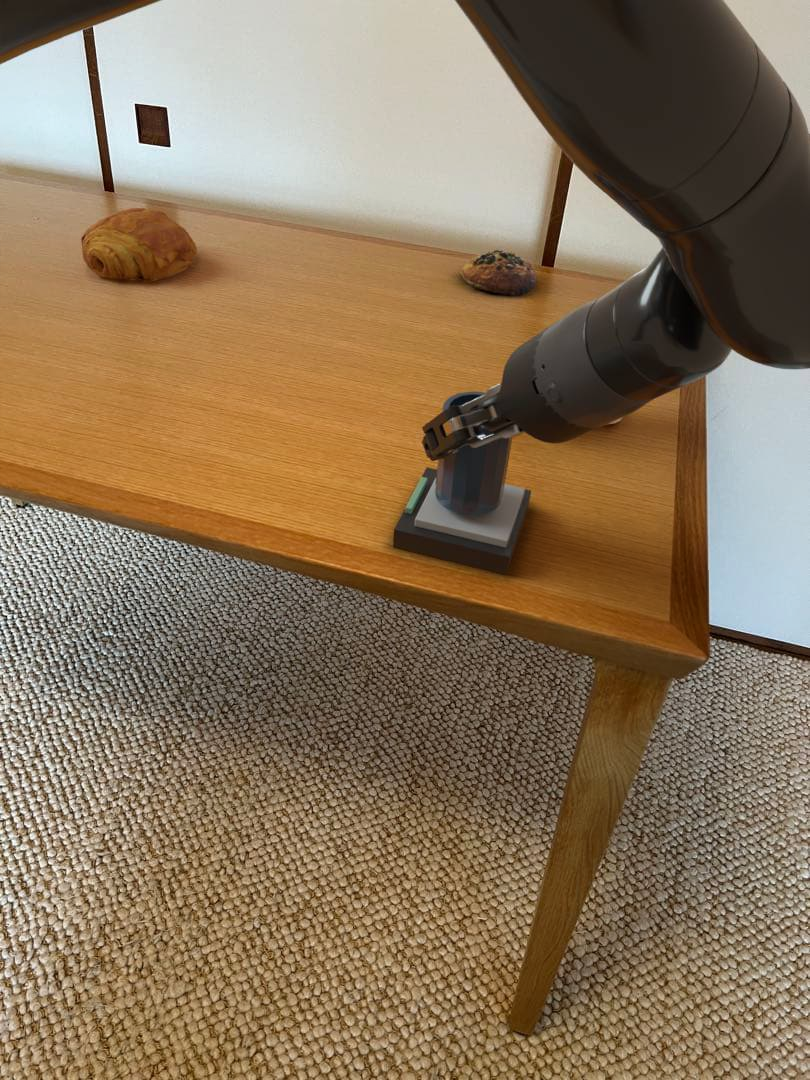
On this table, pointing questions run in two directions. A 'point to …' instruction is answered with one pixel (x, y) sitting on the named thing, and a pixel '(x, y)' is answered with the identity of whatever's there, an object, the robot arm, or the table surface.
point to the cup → (472, 471)
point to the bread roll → (500, 273)
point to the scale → (462, 528)
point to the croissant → (137, 246)
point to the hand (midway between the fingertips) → (461, 438)
